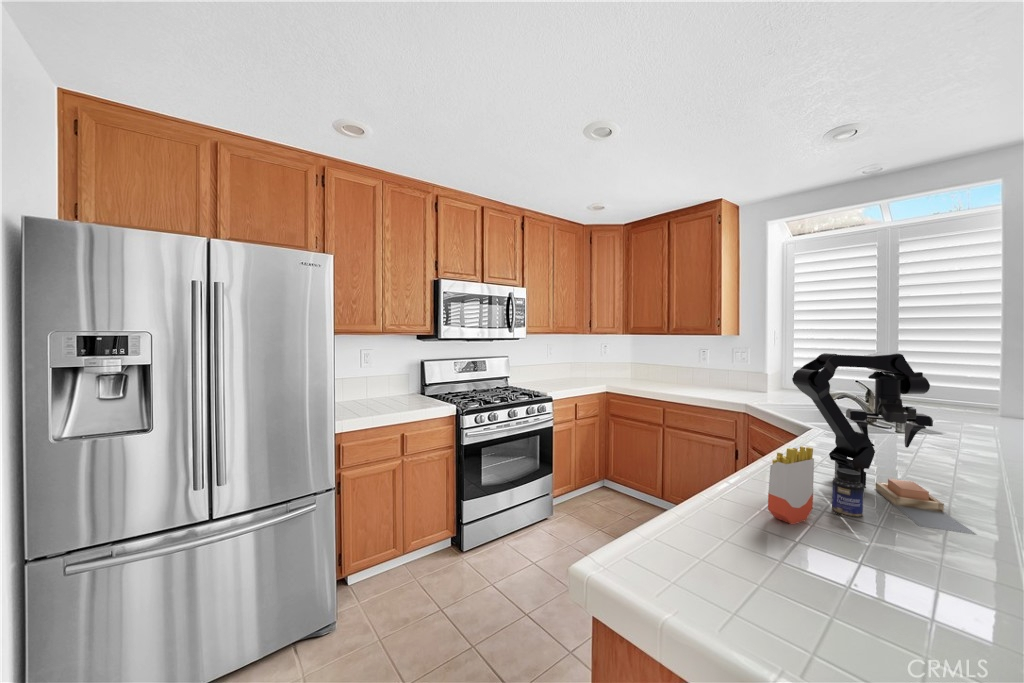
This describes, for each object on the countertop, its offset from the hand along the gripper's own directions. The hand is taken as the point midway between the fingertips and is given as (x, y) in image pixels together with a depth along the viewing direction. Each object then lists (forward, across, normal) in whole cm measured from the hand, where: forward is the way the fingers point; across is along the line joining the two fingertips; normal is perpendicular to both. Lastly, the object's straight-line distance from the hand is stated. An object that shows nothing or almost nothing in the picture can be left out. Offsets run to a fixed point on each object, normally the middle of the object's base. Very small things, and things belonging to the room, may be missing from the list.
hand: (886, 445), depth 123 cm
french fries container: (+12, -30, -42) cm, 53 cm away
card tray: (+11, +1, -14) cm, 18 cm away
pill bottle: (+12, -16, -32) cm, 38 cm away
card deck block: (+11, 0, -14) cm, 18 cm away
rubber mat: (+12, +1, -20) cm, 24 cm away
